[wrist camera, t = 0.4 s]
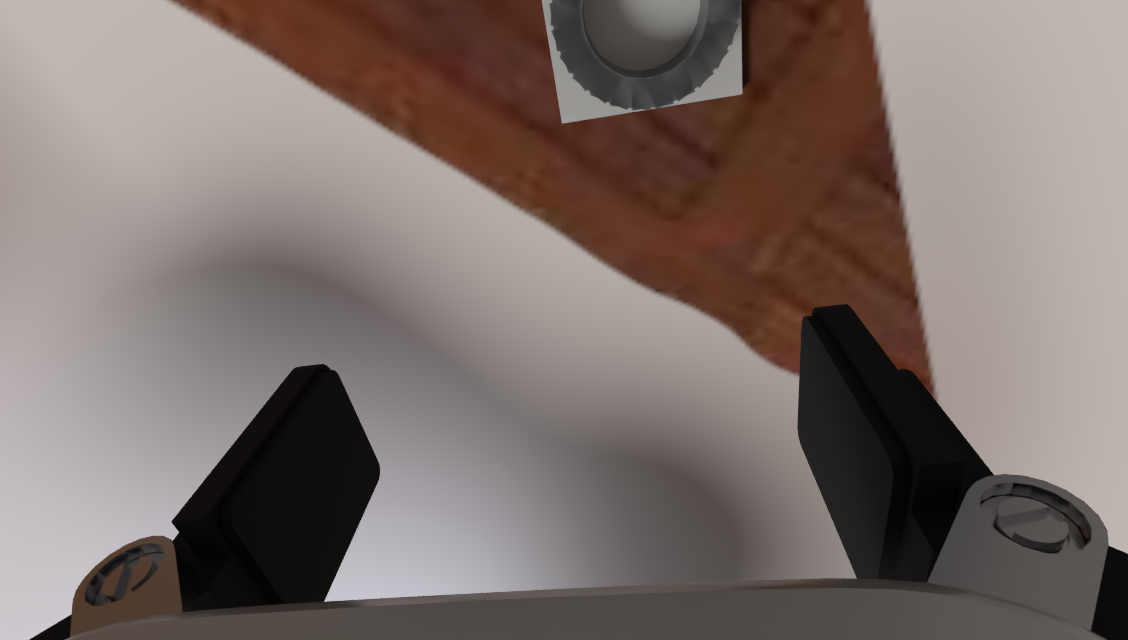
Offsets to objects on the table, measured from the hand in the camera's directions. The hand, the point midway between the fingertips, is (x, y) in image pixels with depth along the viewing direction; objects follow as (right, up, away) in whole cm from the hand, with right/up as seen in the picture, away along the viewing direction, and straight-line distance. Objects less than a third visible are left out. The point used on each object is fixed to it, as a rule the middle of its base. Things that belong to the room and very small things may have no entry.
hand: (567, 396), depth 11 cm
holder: (+4, +20, +22) cm, 29 cm away
